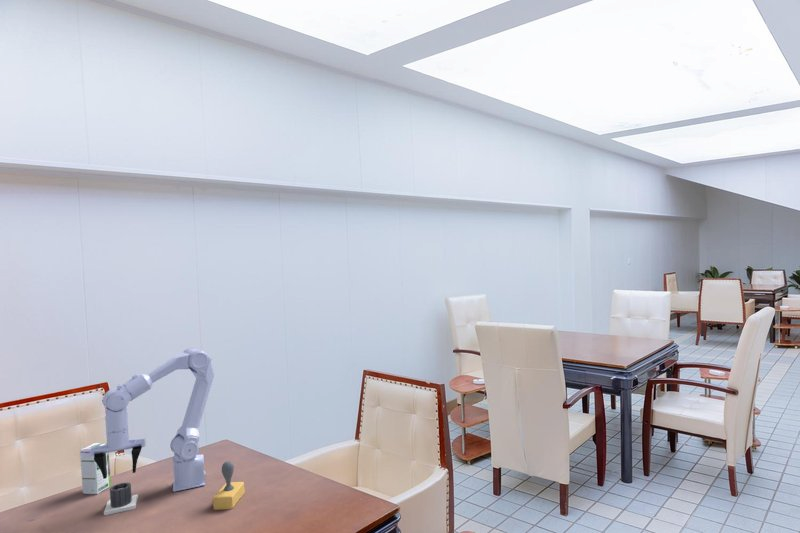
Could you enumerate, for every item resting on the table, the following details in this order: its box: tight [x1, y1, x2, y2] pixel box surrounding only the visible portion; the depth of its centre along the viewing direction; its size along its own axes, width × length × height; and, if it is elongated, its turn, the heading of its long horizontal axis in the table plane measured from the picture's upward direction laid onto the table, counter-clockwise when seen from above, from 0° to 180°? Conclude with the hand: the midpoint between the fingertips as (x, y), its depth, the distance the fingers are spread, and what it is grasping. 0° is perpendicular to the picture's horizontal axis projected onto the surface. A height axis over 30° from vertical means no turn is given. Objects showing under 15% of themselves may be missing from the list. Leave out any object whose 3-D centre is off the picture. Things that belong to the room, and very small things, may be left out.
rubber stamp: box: [212, 460, 246, 511], centre depth 147 cm, size 10×6×12 cm, turn 177°
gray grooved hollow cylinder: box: [109, 482, 132, 508], centre depth 147 cm, size 5×5×5 cm
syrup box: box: [79, 442, 112, 495], centre depth 159 cm, size 6×6×14 cm
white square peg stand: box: [103, 488, 139, 516], centre depth 147 cm, size 8×8×5 cm
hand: (119, 474), depth 147 cm, fingers open, 7 cm apart
